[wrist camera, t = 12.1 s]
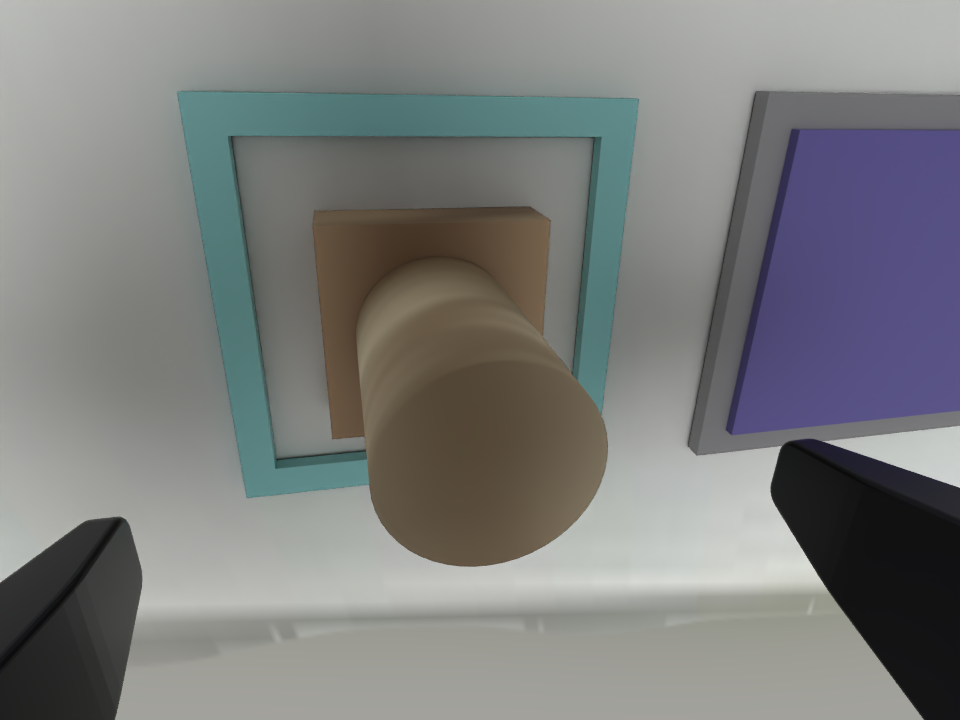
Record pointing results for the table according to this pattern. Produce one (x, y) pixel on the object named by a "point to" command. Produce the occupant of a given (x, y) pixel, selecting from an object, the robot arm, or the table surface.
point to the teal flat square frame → (384, 115)
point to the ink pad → (838, 275)
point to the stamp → (455, 379)
